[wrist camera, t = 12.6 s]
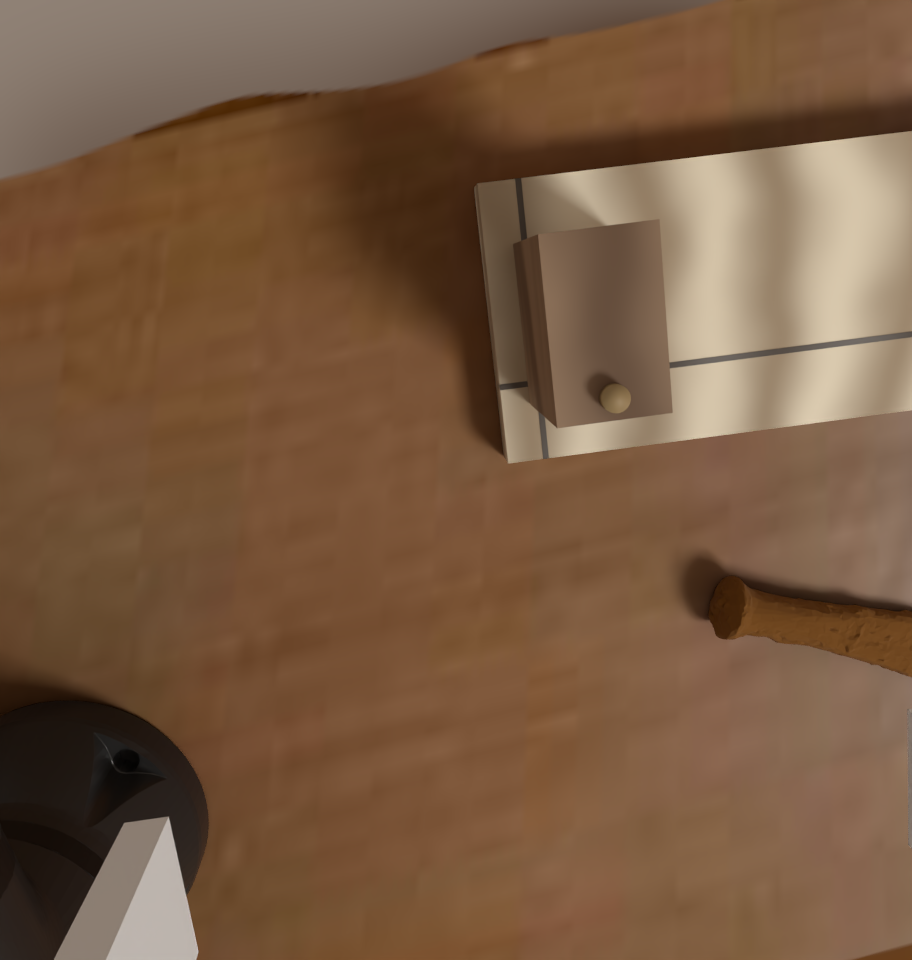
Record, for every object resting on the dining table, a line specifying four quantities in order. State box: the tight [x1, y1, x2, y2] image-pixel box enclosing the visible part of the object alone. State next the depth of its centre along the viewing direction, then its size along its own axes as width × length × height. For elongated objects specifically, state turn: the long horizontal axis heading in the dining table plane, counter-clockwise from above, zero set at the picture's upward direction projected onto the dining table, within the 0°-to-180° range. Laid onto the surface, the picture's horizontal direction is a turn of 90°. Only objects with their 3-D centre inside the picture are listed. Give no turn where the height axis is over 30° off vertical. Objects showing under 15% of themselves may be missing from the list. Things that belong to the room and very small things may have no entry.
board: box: [474, 131, 912, 463], centre depth 45 cm, size 28×14×2 cm, turn 97°
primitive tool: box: [708, 576, 912, 677], centre depth 50 cm, size 19×6×4 cm, turn 79°
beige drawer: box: [513, 219, 673, 428], centre depth 40 cm, size 5×8×9 cm, turn 7°
